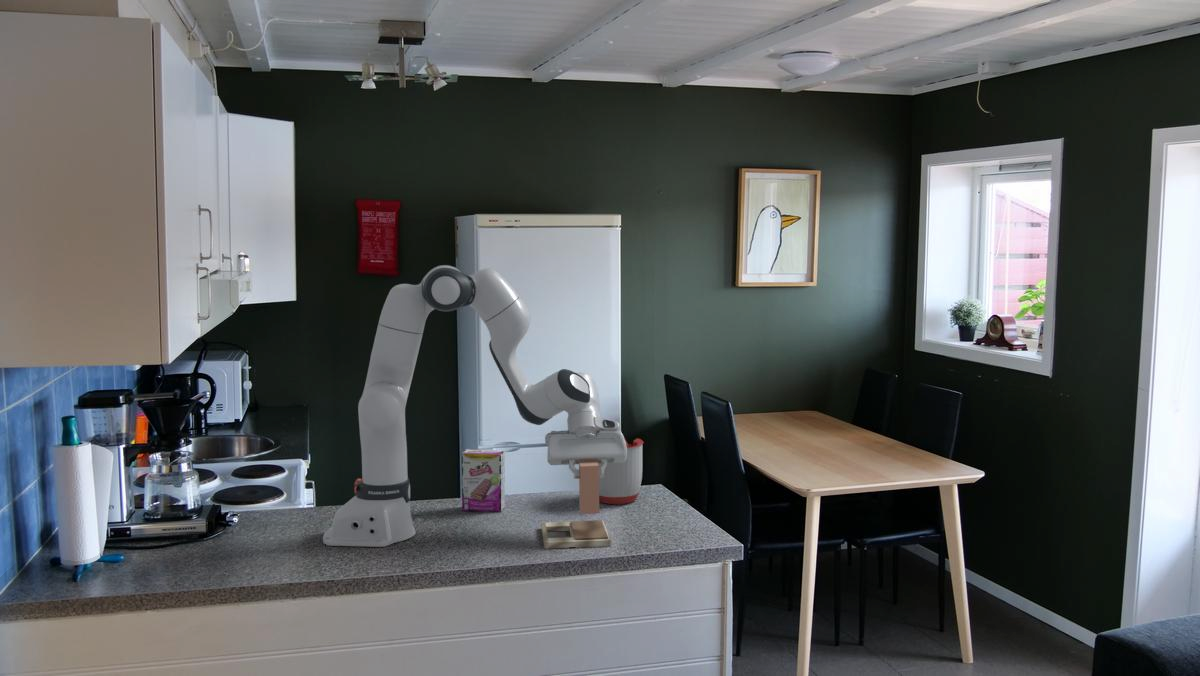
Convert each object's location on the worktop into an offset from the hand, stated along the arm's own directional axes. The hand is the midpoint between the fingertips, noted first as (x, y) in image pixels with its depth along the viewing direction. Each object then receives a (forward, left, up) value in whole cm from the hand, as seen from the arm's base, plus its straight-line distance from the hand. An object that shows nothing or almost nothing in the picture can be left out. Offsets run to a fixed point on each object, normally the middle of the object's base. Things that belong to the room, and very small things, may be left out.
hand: (589, 477), depth 231 cm
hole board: (-4, +1, -15) cm, 16 cm away
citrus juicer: (+11, +34, -16) cm, 39 cm away
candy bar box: (-27, +28, -16) cm, 41 cm away
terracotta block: (0, +1, -9) cm, 9 cm away
